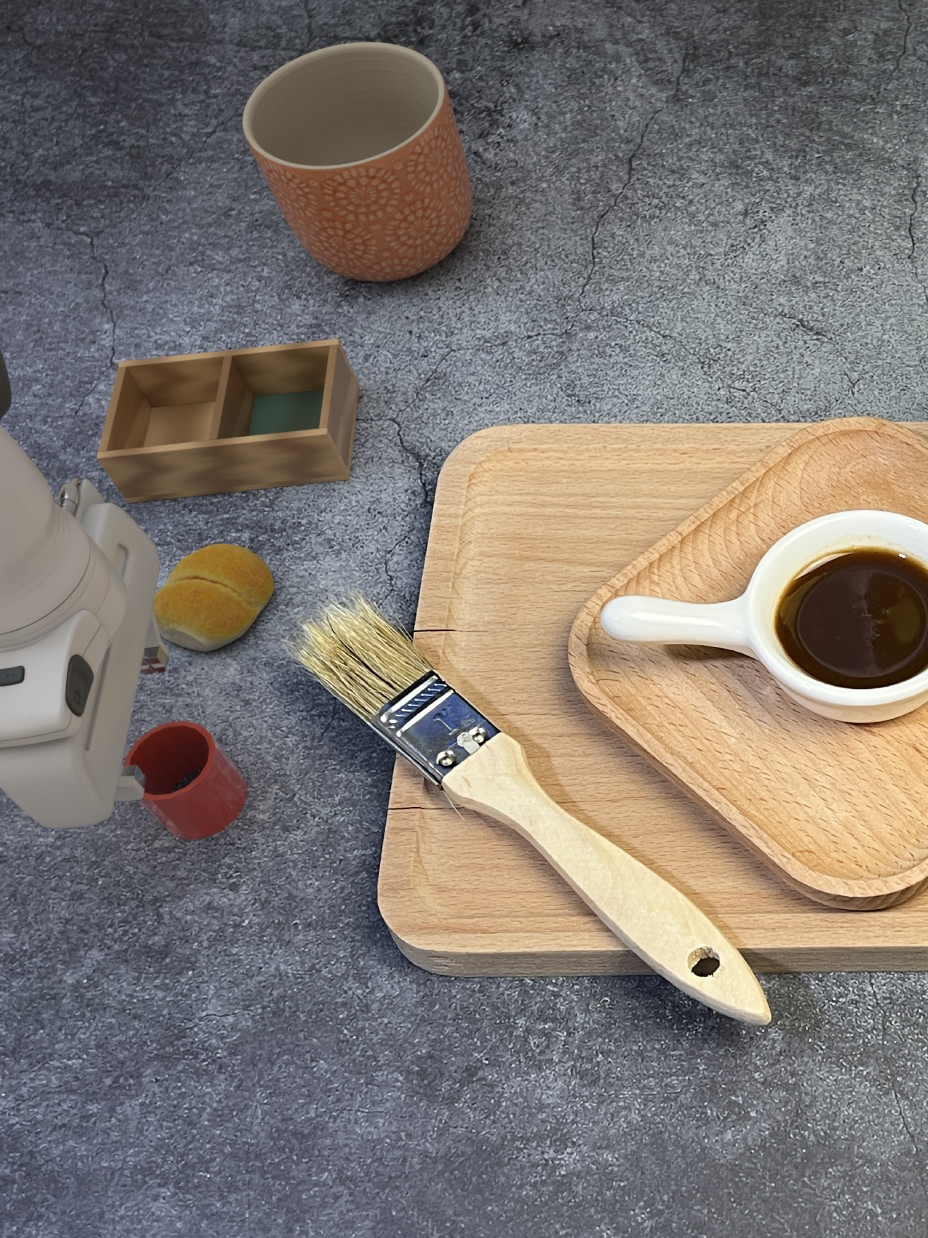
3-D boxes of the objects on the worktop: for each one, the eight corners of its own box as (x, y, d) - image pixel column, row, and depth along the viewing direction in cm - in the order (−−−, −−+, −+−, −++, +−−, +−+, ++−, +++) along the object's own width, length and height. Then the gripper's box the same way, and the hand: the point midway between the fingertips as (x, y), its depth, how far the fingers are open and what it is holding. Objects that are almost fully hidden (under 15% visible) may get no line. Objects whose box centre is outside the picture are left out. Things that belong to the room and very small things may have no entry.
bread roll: (294, 572, 118) (276, 541, 115) (233, 664, 114) (212, 634, 110) (205, 548, 120) (184, 516, 117) (140, 637, 115) (117, 607, 112)
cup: (164, 854, 105) (115, 804, 99) (177, 779, 108) (131, 725, 102) (250, 845, 105) (207, 794, 99) (261, 770, 108) (220, 716, 102)
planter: (272, 238, 140) (207, 98, 128) (431, 158, 146) (383, 16, 133) (359, 336, 133) (299, 198, 120) (523, 248, 138) (482, 107, 125)
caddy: (127, 503, 123) (95, 458, 118) (148, 407, 129) (119, 361, 124) (349, 479, 123) (326, 434, 119) (360, 385, 129) (338, 338, 125)
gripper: (19, 468, 91) (124, 600, 103) (-62, 762, 80) (66, 874, 91) (123, 456, 91) (216, 589, 103) (57, 748, 80) (171, 861, 91)
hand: (145, 725), depth 97 cm, fingers open, 8 cm apart
